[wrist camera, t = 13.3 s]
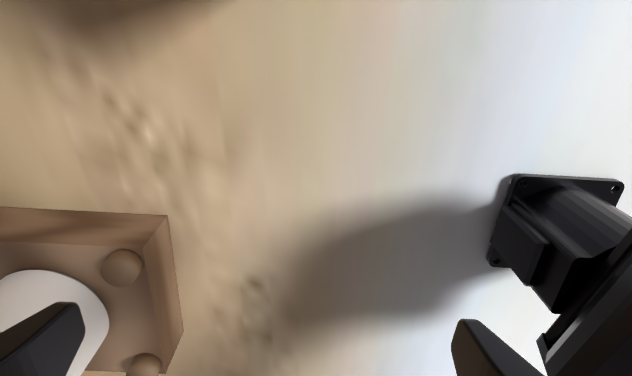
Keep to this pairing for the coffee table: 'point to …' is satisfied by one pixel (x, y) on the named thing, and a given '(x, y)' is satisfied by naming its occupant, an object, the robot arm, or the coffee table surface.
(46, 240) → the base brick
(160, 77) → the coffee table surface
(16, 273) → the can
